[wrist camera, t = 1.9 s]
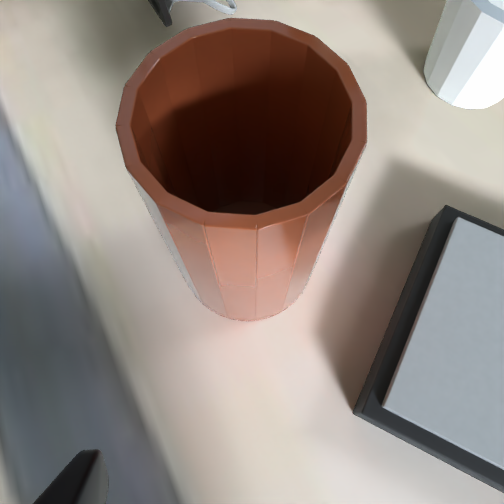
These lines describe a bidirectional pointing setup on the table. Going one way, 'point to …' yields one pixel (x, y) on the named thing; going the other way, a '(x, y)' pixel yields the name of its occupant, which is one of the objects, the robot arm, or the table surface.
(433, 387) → the scale
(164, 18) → the clip-on lamp
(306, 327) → the table surface
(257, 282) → the cup
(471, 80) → the white cylinder
